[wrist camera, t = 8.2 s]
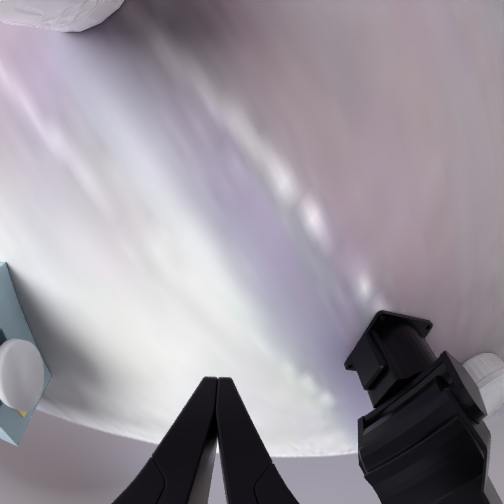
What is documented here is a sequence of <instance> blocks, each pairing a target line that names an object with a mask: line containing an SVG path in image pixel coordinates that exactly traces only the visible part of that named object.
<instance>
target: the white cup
mask: <svg viewBox="0 0 504 504" xmlns="http://www.w3.org/2000/svg"><path fill="white" fill-rule="evenodd" d="M123 2H124V0H0V23H5V24H12V25H19V26H30V27H35V28H43V29H52V30H57V31H61V32H81V31H83V30H86V29H88V28H90V27H93V26H95V25H98V24H100V23H102V22H103V21H104V20H105V19H106V18H108V17H109V16H110V15H111V14H112V13H114V12H115V11H116V10H117V9H119V8H120V6H121V5H122V3H123Z"/></svg>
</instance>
